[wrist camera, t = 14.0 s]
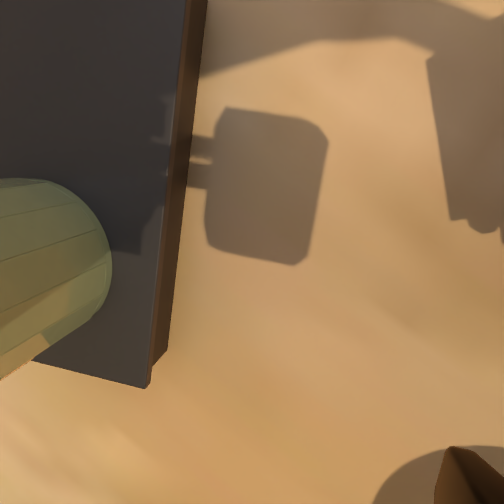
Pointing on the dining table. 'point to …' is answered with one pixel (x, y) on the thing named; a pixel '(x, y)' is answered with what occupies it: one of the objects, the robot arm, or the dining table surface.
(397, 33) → the dining table surface
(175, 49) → the box
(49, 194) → the cup
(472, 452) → the robot arm
